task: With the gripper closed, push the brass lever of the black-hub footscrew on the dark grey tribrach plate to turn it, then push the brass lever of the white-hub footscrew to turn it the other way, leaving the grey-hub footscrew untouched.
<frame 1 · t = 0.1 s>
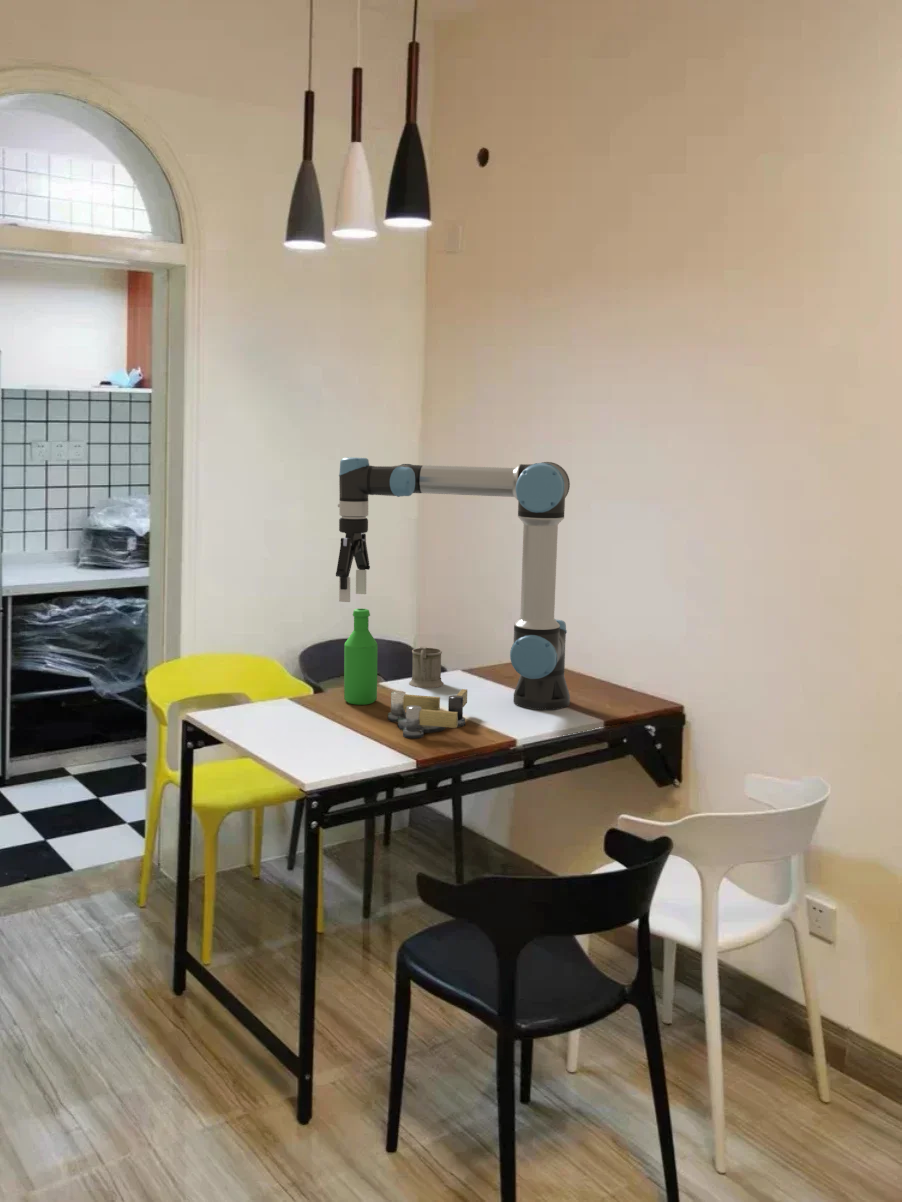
hand: (353, 597, 298), 28 cm above the table, fingers open, 13 cm apart
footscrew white: (415, 704, 283), point 4 cm above the table, hinge at 0.0°
tribrach plate: (422, 726, 279), on the table
mug: (425, 686, 321), on the table
bottle: (360, 702, 302), on the table
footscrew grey: (431, 719, 270), point 4 cm above the table, hinge at 0.0°
footscrew black: (459, 703, 285), point 4 cm above the table, hinge at 0.0°
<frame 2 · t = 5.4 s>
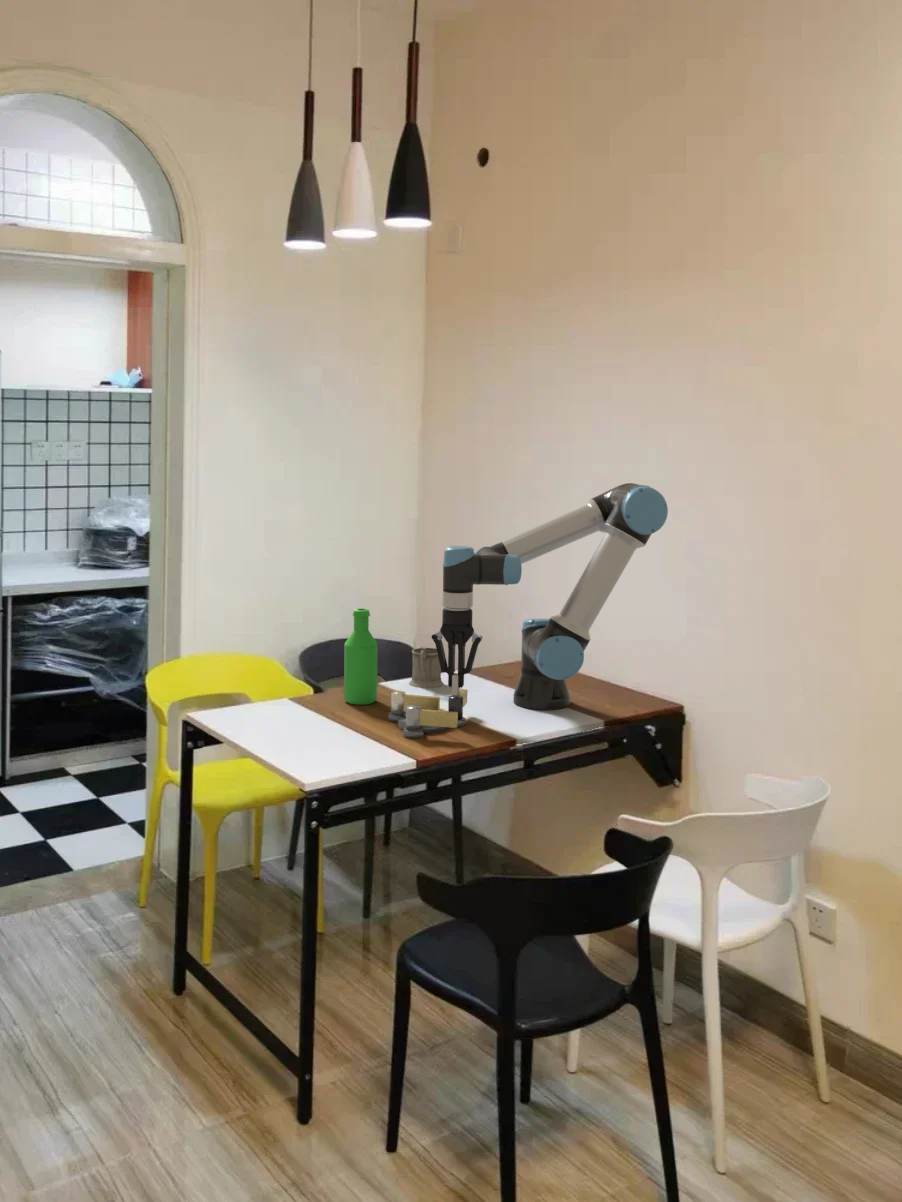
hand: (455, 699, 287), 5 cm above the table, fingers closed
footscrew black: (459, 703, 285), point 4 cm above the table, hinge at 0.0°, touching gripper
everything else where it was.
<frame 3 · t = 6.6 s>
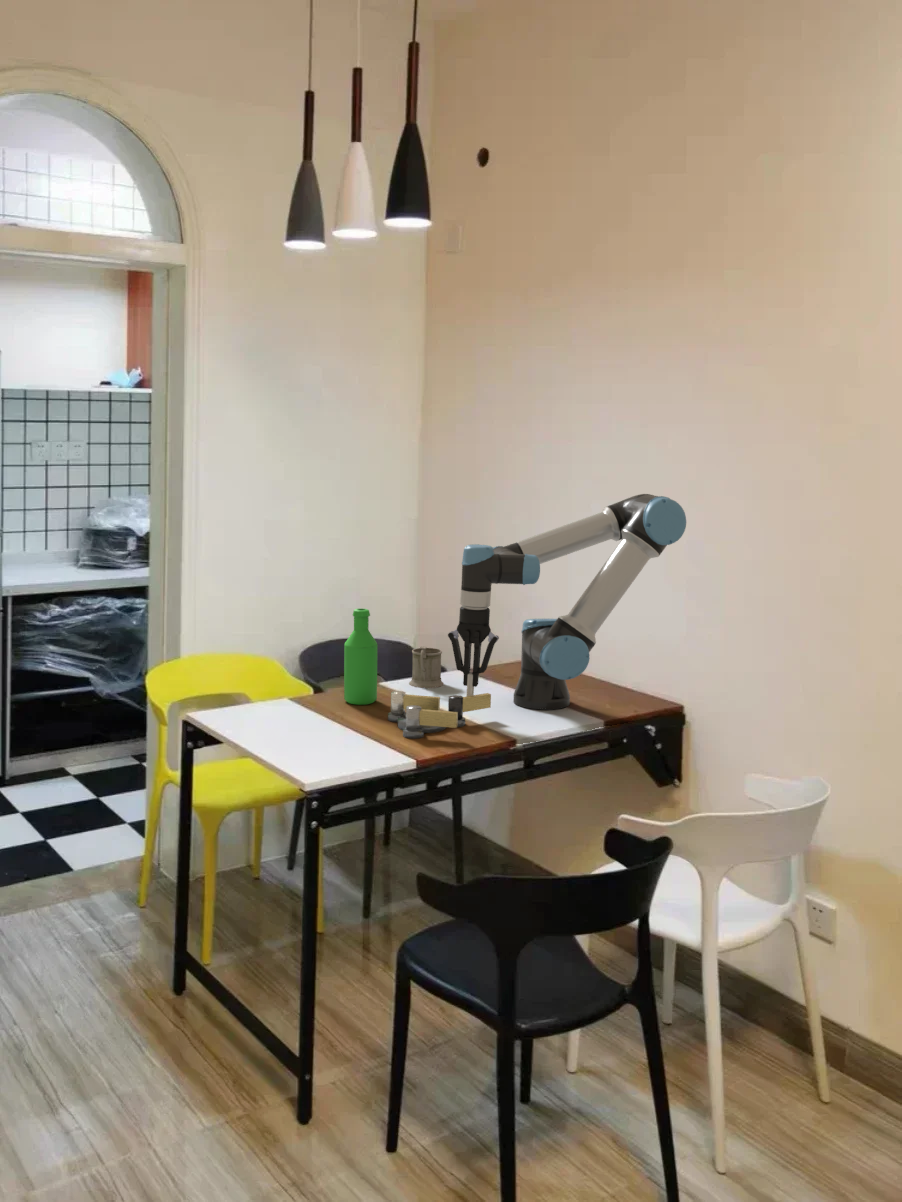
hand: (469, 698, 286), 5 cm above the table, fingers closed
footscrew black: (469, 705, 284), point 4 cm above the table, hinge at -40.7°, touching gripper
everything else where it was.
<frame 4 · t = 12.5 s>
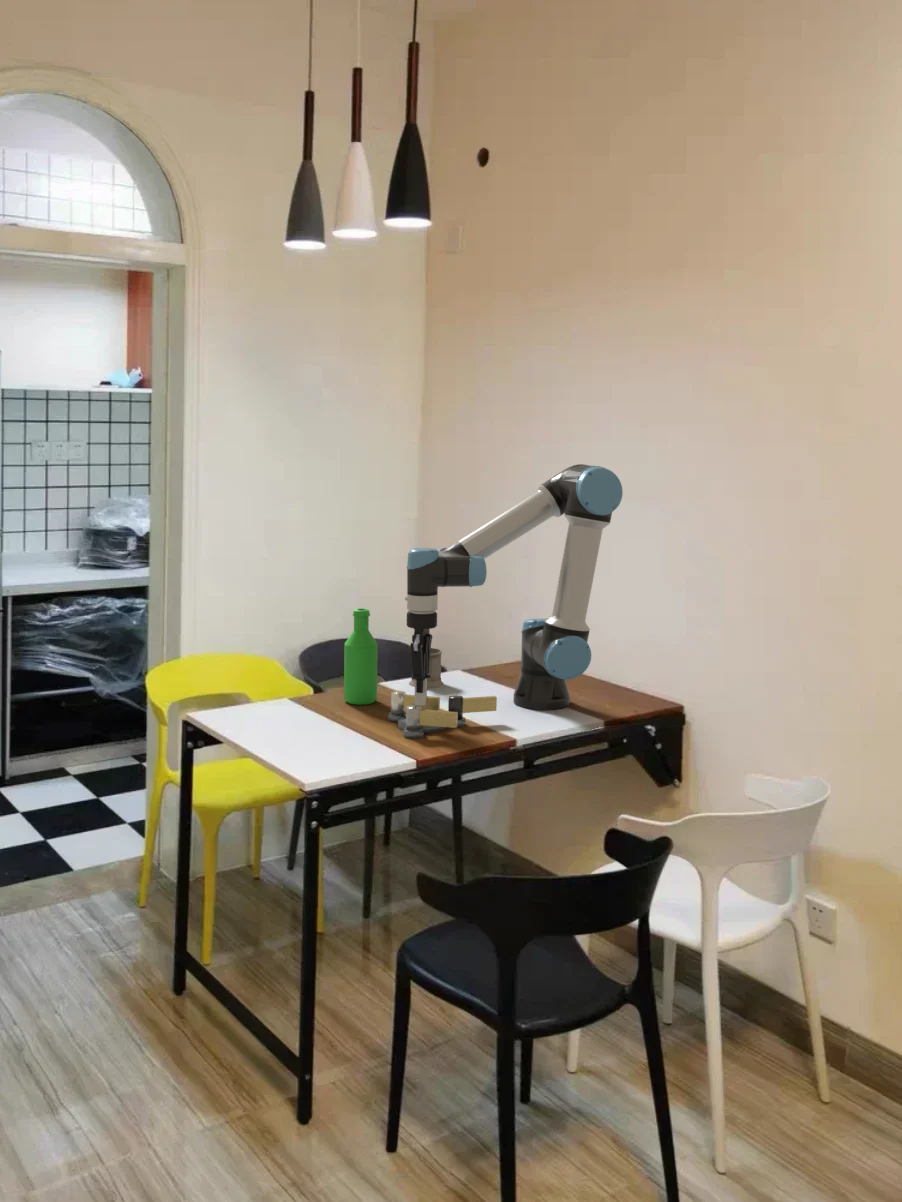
hand: (420, 704, 282), 5 cm above the table, fingers closed
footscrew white: (415, 704, 283), point 4 cm above the table, hinge at 0.0°, touching gripper
footscrew black: (472, 706, 283), point 4 cm above the table, hinge at -59.0°
everything else where it was.
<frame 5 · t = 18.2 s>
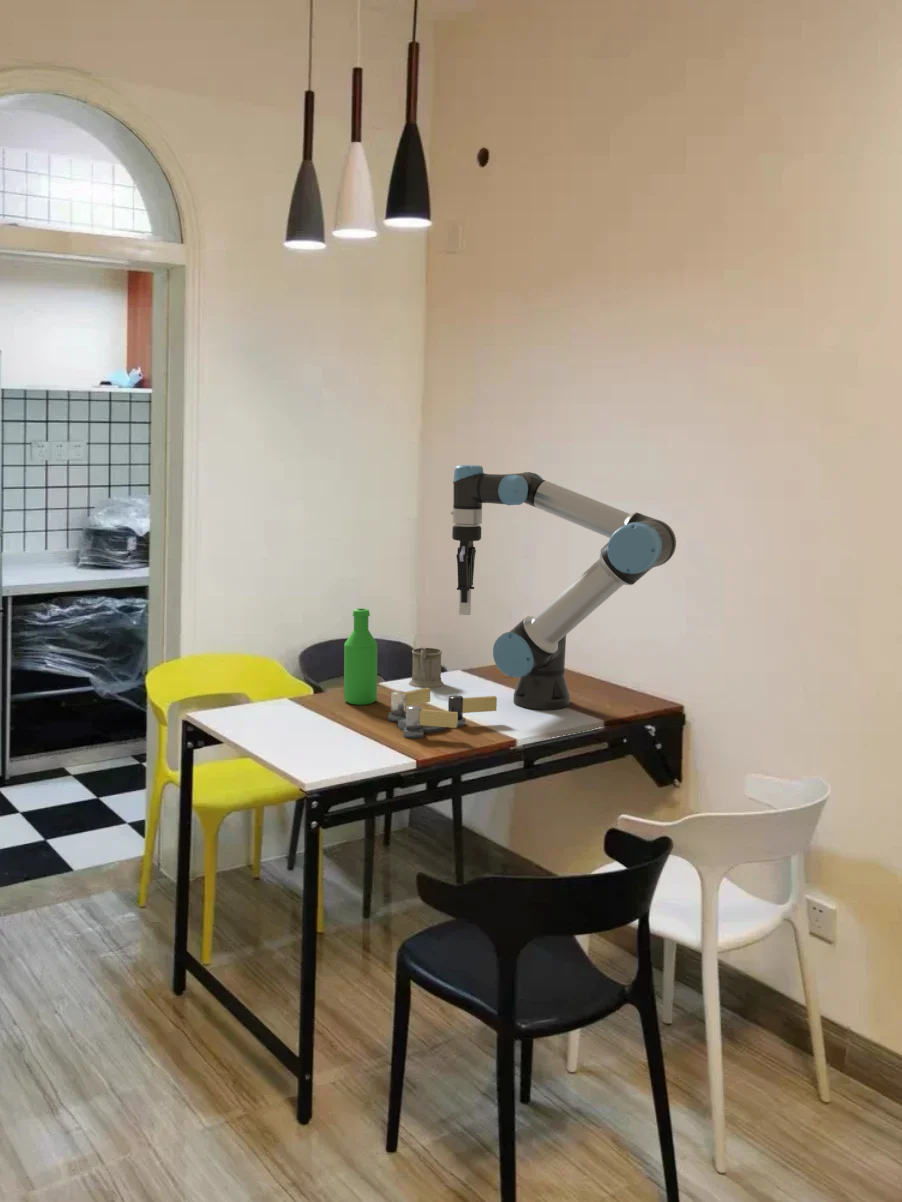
hand: (464, 614, 297), 24 cm above the table, fingers closed
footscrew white: (410, 700, 288), point 4 cm above the table, hinge at 58.1°
everything else where it was.
at the end: footscrew black at -59° (first picture: +0°); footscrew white at +58° (first picture: +0°); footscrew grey at +0° (first picture: +0°) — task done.
